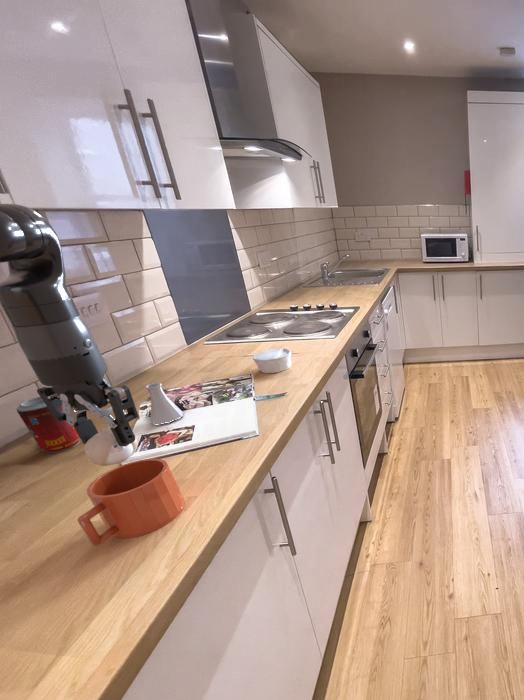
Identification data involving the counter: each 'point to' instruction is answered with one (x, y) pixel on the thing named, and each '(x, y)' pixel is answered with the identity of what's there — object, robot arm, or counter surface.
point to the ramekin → (273, 360)
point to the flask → (161, 405)
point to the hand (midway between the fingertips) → (110, 442)
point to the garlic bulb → (107, 448)
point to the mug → (133, 500)
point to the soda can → (47, 426)
